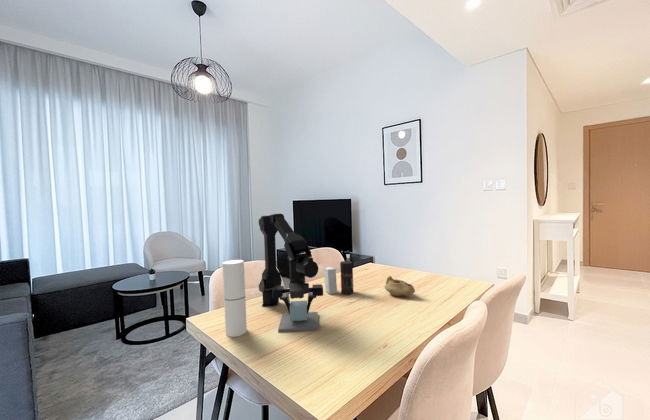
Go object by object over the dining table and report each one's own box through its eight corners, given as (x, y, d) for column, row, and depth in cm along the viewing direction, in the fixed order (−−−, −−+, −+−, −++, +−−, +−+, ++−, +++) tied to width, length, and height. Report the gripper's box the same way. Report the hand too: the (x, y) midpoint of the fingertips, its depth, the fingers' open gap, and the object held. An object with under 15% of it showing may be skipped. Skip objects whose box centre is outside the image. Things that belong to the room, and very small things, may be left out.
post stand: (278, 332, 100) (277, 319, 100) (282, 316, 114) (282, 304, 114) (318, 330, 100) (317, 317, 100) (317, 314, 114) (317, 302, 114)
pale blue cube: (290, 320, 104) (289, 307, 104) (291, 314, 110) (290, 301, 110) (307, 319, 104) (306, 306, 104) (307, 313, 110) (307, 300, 110)
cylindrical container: (227, 338, 96) (224, 265, 96) (224, 330, 103) (221, 261, 102) (248, 333, 100) (245, 262, 99) (244, 325, 106) (241, 258, 105)
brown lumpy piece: (411, 301, 125) (410, 283, 125) (380, 295, 134) (379, 278, 134) (420, 294, 133) (419, 277, 133) (390, 289, 143) (389, 273, 142)
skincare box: (337, 293, 139) (336, 268, 139) (328, 294, 138) (328, 269, 137) (332, 289, 145) (332, 266, 145) (324, 291, 144) (323, 267, 143)
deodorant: (352, 294, 136) (351, 263, 136) (340, 294, 138) (339, 263, 137) (354, 291, 142) (353, 261, 142) (342, 290, 143) (341, 261, 143)
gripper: (268, 279, 98) (270, 324, 98) (323, 276, 99) (324, 321, 99) (273, 271, 109) (274, 311, 110) (322, 269, 110) (323, 309, 110)
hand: (298, 313), depth 107 cm, fingers closed on pale blue cube, 6 cm apart
